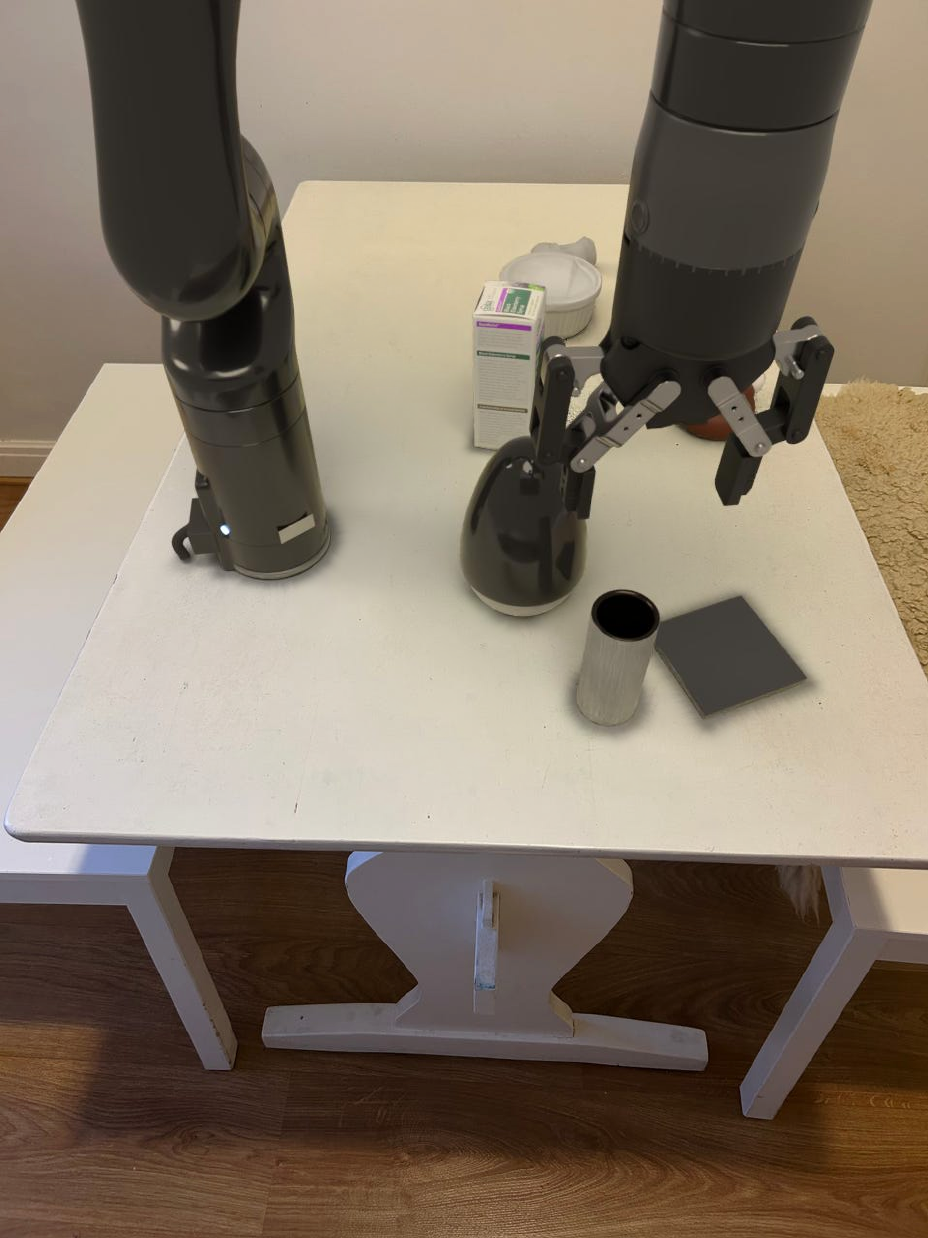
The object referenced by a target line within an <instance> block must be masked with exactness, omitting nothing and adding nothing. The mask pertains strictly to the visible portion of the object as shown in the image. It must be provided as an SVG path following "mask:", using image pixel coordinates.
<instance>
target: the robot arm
mask: <svg viewBox="0 0 928 1238" xmlns="http://www.w3.org/2000/svg"><path fill="white" fill-rule="evenodd" d="M74 2H75V6H76V10H77V11H76V12H77V15H78V20H79V26H80V30H81V36H82V40H83V47H84V54H85V60H86V66H87V67H86V68H87V74H88V83H89V91H90V103H91V111H92V112H91V114H92V116H91V117H92V126H93V127H92V128H93V140H94V152H95V153H94V154H95V166H96V180H97V195H98V209H99V220H100V228H101V234H102V238H103V243H104V246H105V247H106V248H105V249H106V251H107V254H108V257H109V259H110V261H111V263H112V265H113V267H114V268H115V271H116V272H117V273H118V275H119V277H120V278H121V280H122V281H123V283H124V284H125V285H126V287H127V288H128V289H129V290H130V291H131V292H132V294H133V295H134V296H136V297H137V298H138V300H140V301H141V302H142V303H143V304H144V305H145V306H147V307H149V308H150V309H152V310H153V311H155V313H157V314H159V315H160V357H161V362H162V366H163V369H164V373H165V376H166V378H167V382H168V384H169V388H170V390H171V394H172V398H173V399H174V402H175V405H176V408H177V412H178V415H179V418H180V420H181V423H182V427H183V430H184V433H185V436H186V439H187V441H188V445H189V448H190V451H191V454H192V457H193V460H194V463H195V467H196V471H195V477H194V478H195V479H194V489H195V492H196V495H197V497H193V498H191V504H190V511H189V518H188V523H186V524H185V525H184V526H181V528H179V529H178V530H177V531H176V532H174V534H173V536H172V538H171V546H172V549H173V551H174V553H175V554H176V555H177V556H178V558H179V560H181V561H185V560H188V559H189V558H191V554H190V552H189V551H188V549H187V548H186V547H185V545H184V542H185V540H186V539H188V542H189V543H190V548H191V549H192V552H193V554H194V556H195V555H196V556H197V555H208V554H209V555H210V554H217V557H218V560H219V563H220V567H221V569H222V570H223V571H228V570H232V571H233V570H235V571H237V572H239V573H241V574H242V575H244V576H248V577H251V578H254V579H259V580H260V579H261V580H279V579H284V578H288V577H292V576H295V575H298V574H300V573H302V572H304V571H306V570H307V569H310V568H311V567H313V566H314V565H315V564H316V563H318V562H319V561H320V560H321V559H322V557H323V556H324V555H325V553H326V551H327V550H328V548H329V545H330V542H331V535H332V534H331V528H330V522H329V520H328V514H327V511H326V507H325V501H324V495H323V490H322V489H323V488H322V484H321V477H320V474H319V468H318V462H317V457H316V452H315V448H314V441H313V436H312V430H311V425H310V424H311V423H310V420H309V419H310V418H309V414H308V408H307V403H306V398H305V397H306V396H305V393H304V392H305V391H304V386H303V381H302V376H301V370H300V365H299V359H298V354H297V348H296V332H295V331H296V325H295V324H296V323H295V322H296V319H295V305H294V297H293V289H292V283H291V277H290V271H289V263H288V258H287V251H286V244H285V238H284V232H283V226H282V220H281V214H280V209H279V203H278V199H277V195H276V194H277V193H276V190H275V187H274V183H273V181H272V177H271V175H270V173H269V170H268V168H267V166H266V164H265V162H264V160H263V158H262V156H261V155H260V153H259V152H258V151H257V149H256V148H255V147H254V146H253V144H252V143H251V142H250V141H249V139H247V137H245V135H244V134H242V133H241V124H240V116H239V114H240V113H239V100H238V85H237V81H238V79H237V75H238V74H237V57H238V40H239V39H238V37H239V27H240V17H241V8H242V0H74ZM873 2H874V0H662V6H661V12H660V20H659V27H658V32H657V33H658V34H657V40H656V46H655V53H654V60H653V66H652V73H651V80H650V89H649V92H648V98H647V103H646V107H645V111H644V116H643V118H642V123H641V126H640V128H639V129H640V130H639V133H638V136H637V140H636V145H635V149H634V154H633V159H632V165H631V172H630V179H629V186H628V193H627V201H626V209H625V215H624V222H623V228H622V236H621V243H620V250H619V258H618V264H617V265H618V266H617V270H616V271H617V272H616V277H615V278H616V279H615V284H614V285H615V286H614V293H613V300H612V305H611V306H612V307H611V314H610V315H611V317H610V322H609V323H610V324H609V326H608V329H607V332H606V333H605V335H604V336H603V338H602V339H601V340H600V342H599V343H598V345H587V346H567V345H566V342H565V341H564V340H565V339H562V338H561V337H558V336H551V337H548V338H546V339H545V340H544V341H543V342H542V344H541V347H540V353H539V361H538V368H537V375H536V382H535V389H534V396H533V403H532V411H531V418H530V425H529V432H530V435H531V438H532V439H533V443H534V446H535V450H536V457H537V461H538V463H539V464H540V465H542V466H551V465H554V464H555V463H561V464H562V468H561V477H560V487H559V489H560V493H561V496H562V500H563V503H564V506H565V509H566V511H567V512H572V511H573V514H574V518H575V520H584V519H586V520H589V519H590V515H591V514H590V513H591V509H592V501H593V495H594V489H595V481H596V474H597V472H596V471H597V470H596V467H595V464H597V463H598V462H599V461H600V460H601V459H602V458H603V457H604V456H605V455H606V454H607V453H608V452H609V451H610V450H611V449H612V448H617V449H620V448H621V447H623V446H624V445H625V444H626V443H627V442H629V440H630V439H631V438H632V437H633V436H634V435H635V434H636V433H637V432H638V431H640V430H641V429H642V428H643V426H645V428H646V430H657V429H664V428H668V427H671V426H675V425H679V424H680V425H682V424H685V425H692V426H693V425H705V424H707V423H708V419H711V418H713V417H715V416H717V415H719V414H720V413H722V415H723V416H724V418H725V419H726V421H727V422H728V424H729V425H730V427H731V428H732V430H733V431H734V432H729V433H728V436H727V439H725V443H724V446H723V449H722V453H721V457H720V460H719V462H718V467H717V470H716V474H715V476H714V488H715V491H716V493H717V495H718V498H719V500H720V501H721V504H722V506H724V507H730V506H731V507H732V506H739V504H740V502H741V498H742V496H747V495H748V494H749V492H750V491H751V490H752V489H753V486H754V483H755V480H756V478H757V474H758V472H759V469H760V466H761V462H762V460H763V457H764V456H765V455H767V454H768V453H769V452H770V451H771V449H772V447H773V446H774V445H777V444H779V443H783V442H786V443H787V444H789V445H797V444H800V443H802V442H803V441H805V440H806V439H807V437H808V436H809V433H810V430H811V428H812V425H813V421H814V418H815V415H816V411H817V409H818V406H819V402H820V400H821V396H822V393H823V390H824V387H825V384H826V380H827V377H828V374H829V371H830V368H831V364H832V362H833V359H834V355H835V347H834V345H832V343H831V341H830V340H829V339H828V337H827V336H826V334H825V333H824V331H823V330H822V329H821V327H820V325H819V324H818V323H817V321H816V320H815V319H814V317H812V316H809V315H805V316H801V317H800V318H798V319H796V320H795V321H794V322H793V323H792V325H791V327H790V329H789V330H782V331H778V329H779V327H780V324H781V321H782V318H783V315H784V312H785V309H786V305H787V302H788V299H789V296H790V293H791V290H792V286H793V283H794V280H795V277H796V274H797V270H798V267H799V265H800V261H801V258H802V254H803V251H804V249H805V245H806V242H807V239H808V235H809V232H810V229H811V227H812V223H813V220H814V219H815V216H816V214H817V212H818V209H819V206H820V198H821V195H822V191H823V188H824V185H825V181H826V178H827V174H828V169H829V165H830V160H831V154H832V149H833V143H834V136H835V131H836V127H837V123H838V120H839V119H838V118H839V115H840V111H841V107H842V103H843V100H844V97H845V94H846V91H847V88H848V83H849V82H850V81H849V80H850V77H851V74H852V71H853V68H854V65H855V61H856V58H857V55H858V52H859V48H860V46H861V42H862V39H863V35H864V32H865V29H866V25H867V22H868V20H869V17H870V13H871V10H872V7H873ZM774 361H775V364H776V366H777V367H778V369H779V371H778V375H777V377H776V378H777V379H776V383H775V387H774V389H773V394H772V398H771V401H770V406H769V408H768V409H766V410H763V411H760V412H757V413H756V411H755V412H754V410H753V409H752V407H751V405H750V404H749V402H748V401H747V399H746V397H745V396H744V394H743V392H744V391H745V390H746V389H747V388H748V387H749V386H751V385H752V384H753V383H754V382H755V381H756V380H757V379H758V378H759V377H760V376H761V375H762V374H763V373H764V374H765V373H766V372H767V371H768V370H769V368H770V367H771V366H772V365H773V363H774ZM599 374H600V376H601V378H602V381H601V382H600V383H599V385H597V387H596V388H595V389H594V390H593V391H592V392H591V393H590V394H589V396H588V398H587V400H586V404H585V407H584V408H583V409H582V410H581V411H580V412H579V414H578V415H577V416H576V417H575V418H574V419H573V420H572V421H571V422H570V423H569V424H568V425H567V422H568V418H569V411H570V406H571V400H572V398H578V397H579V396H581V394H582V391H583V389H584V387H585V385H586V383H587V382H588V380H589V379H590V378H591V377H593V376H595V375H599ZM618 403H620V405H621V406H622V408H623V409H622V410H621V411H620V412H619V413H617V409H616V408H617V405H618Z"/></svg>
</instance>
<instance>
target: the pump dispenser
mask: <svg viewBox="0 0 928 1238" xmlns="http://www.w3.org/2000/svg"><path fill="white" fill-rule="evenodd" d="M561 468H562V464H561V463H555V464H554V465H551V466H542V465H540V464H539V463H538V461H537V457H536V450H535V446H534V443H533V439H532V438H531V436H520V437H517V438H514V439H511V440H510V441H508V442H506V443H505V444H504V445H502V446H501V447H500V448H499V449H498V450H495V452H494V453H493V454H492V456H491V457H490V458H489V460H488V461H487V463H486V464H485V466H484V468H483V470H482V472H481V473H480V475H479V477H478V479H477V481H476V484H475V486H474V488H473V491H472V493H471V495H470V499H469V501H468V503H467V507H466V511H465V514H464V517H463V523H462V527H461V532H460V539H459V546H458V547H459V548H458V558H459V566H460V570H461V573H462V575H463V577H464V579H465V580H466V581H467V582H468V584H469V586H470V587H471V589H472V590H473V592H474V594H476V596H477V597H478V598H479V600H481V601H482V602H483V603H484V604H485V605H487V606H488V607H490V608H491V609H493V610H495V611H497V612H500V613H502V614H505V615H510V616H514V617H532V616H536V615H537V616H538V615H541V614H544V613H546V612H549V611H551V610H553V609H555V608H556V607H558V606H559V605H560V604H561V603H563V602H564V601H565V600H566V599H567V598H568V597H569V595H570V594H571V593H572V592H573V591H574V589H576V588H577V586H578V585H579V584H580V583H581V581H582V579H583V577H584V575H585V571H586V568H587V561H588V528H587V519H584V520H575V518H574V514H573V511H572V512H567V511H566V509H565V506H564V503H563V500H562V496H561V493H560V489H559V487H560V477H561Z"/></svg>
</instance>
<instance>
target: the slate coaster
mask: <svg viewBox="0 0 928 1238" xmlns="http://www.w3.org/2000/svg"><path fill="white" fill-rule="evenodd" d="M653 647H654V648H655V649H656V651H657V653H658V654H659V655H660V657H661V658H662V660H663V661H664V663H665V665H667V667H668V669H669V670H670V672H671V673H672V674H673V677H675V679H676V680H677V681H678V684H680V686H681V688H682V689H683V691H684V692H685V693H686V695H687V696H688V698H689V699H690V701H691V703H692V704H694V706H695V708H696V710H697V711H698V712H699V714H700V715H701V717H702V718H703V719H704V720H707V719H709V718H713V717H715V716H717V715H720V714H723V713H726V712H729V711H731V710H733V709H737V708H740V707H743V706H745V705H747V704H749V703H753V702H755V701H759V700H761V699H764V698H766V697H769V696H772V695H774V694H777V693H780V692H782V691H785V690H788V689H791V688H793V687H796V686H799V685H801V684H805V683H806V682H807V681H808V676H807V675H806V674H805V673H804V672H803V669H801V668H800V667H799V665H798V664H797V662H795V661H794V659H793V658H792V657H791V655H790V653H788V651H787V650H786V649H785V648H784V646H783V645H782V644H781V643H780V642H779V640H778V639H777V637H775V635H774V634H773V633H772V631H771V630H770V629H769V628H768V627H767V625H766V624H765V623H764V621H763V620H762V619H761V618H760V616H759V615H758V614H757V613H756V612H755V611H754V609H753V608H752V607H751V605H750V604H749V603H748V602H747V600H746V599H745V598H744V597H743V595H741V594H739V595H737V596H734V597H731V598H728V599H725V600H723V601H719V602H717V603H712V604H710V605H707V606H705V607H701V608H699V609H696V610H692V611H690V612H686V613H683V614H680V615H677V616H674V617H671V618H667V619H666V620H662V621H660V625H659V628H658V632H657V636H656V639H655V643H654V646H653Z"/></svg>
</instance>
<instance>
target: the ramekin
mask: <svg viewBox="0 0 928 1238" xmlns="http://www.w3.org/2000/svg"><path fill="white" fill-rule="evenodd" d="M499 273H500V274H499V280H498V281H510V282H522V283H529V284H535V285H540V286H545V287H546V289H547V293H546V310H545V330H544V340H545V339H546V338H548V337H551V336H558V337H561V338H562V339H563V340H566V339H569V338H571V337H574V336H575V335H577V334H579V333H580V332H581V331H583V330H584V329H585V328H587V325H588V324H589V322H590V319H591V317H592V314H593V312H594V309H595V305H596V302H597V299H598V297H599V295H601V292H602V287H603V277H602V275H601V272H600V271H599V270H598V269H597V267H595V265H594V266H593V265H592V264H590V263H589V262H587V261H586V260H583V259H581V258H579V257H576V256H573V255H569V254H564V253H558V252H538V253H531V254H530V253H526V254H523V255H520V256H516V257H515V258H513V259H511V260H510V261H508V262H506V264H505V265H504V266H503V267H502V268H501V271H500V272H499Z"/></svg>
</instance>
